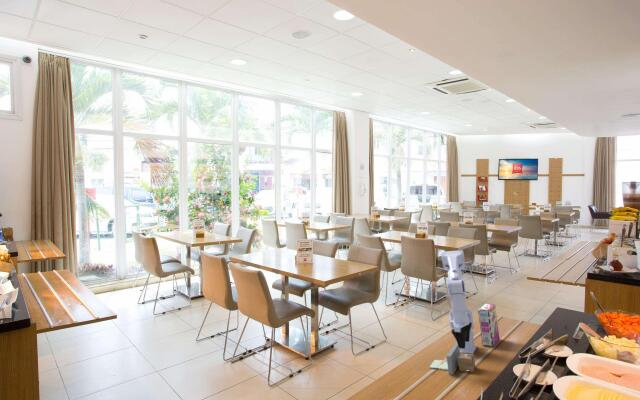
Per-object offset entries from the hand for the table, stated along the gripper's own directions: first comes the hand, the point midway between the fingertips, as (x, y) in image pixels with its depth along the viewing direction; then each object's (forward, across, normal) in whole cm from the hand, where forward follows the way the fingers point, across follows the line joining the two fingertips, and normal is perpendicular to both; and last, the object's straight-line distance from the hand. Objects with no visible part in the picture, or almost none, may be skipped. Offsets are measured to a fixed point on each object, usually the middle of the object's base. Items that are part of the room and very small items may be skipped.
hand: (464, 344), depth 149 cm
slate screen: (+9, 0, -5) cm, 11 cm away
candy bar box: (+10, -31, +4) cm, 33 cm away
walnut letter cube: (+10, 0, 0) cm, 10 cm away
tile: (+9, 0, -10) cm, 14 cm away
